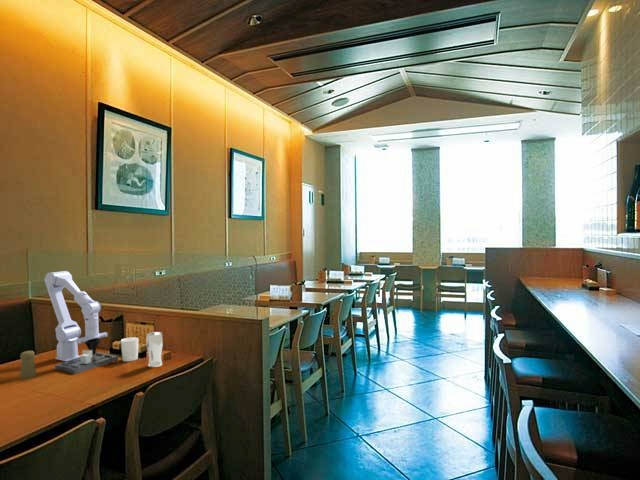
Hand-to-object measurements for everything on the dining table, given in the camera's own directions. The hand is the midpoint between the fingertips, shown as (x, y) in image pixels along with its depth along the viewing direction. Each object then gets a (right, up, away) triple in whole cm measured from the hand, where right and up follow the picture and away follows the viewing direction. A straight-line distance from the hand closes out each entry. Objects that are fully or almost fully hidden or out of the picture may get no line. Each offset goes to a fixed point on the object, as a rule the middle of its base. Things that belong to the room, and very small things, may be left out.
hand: (92, 354), depth 196 cm
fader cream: (-1, -1, -2) cm, 3 cm away
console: (+1, -3, -6) cm, 7 cm away
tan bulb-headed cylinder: (-17, -4, -20) cm, 27 cm away
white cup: (+18, -3, +1) cm, 18 cm away
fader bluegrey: (+3, -1, -10) cm, 11 cm away
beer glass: (+34, -3, -9) cm, 36 cm away
